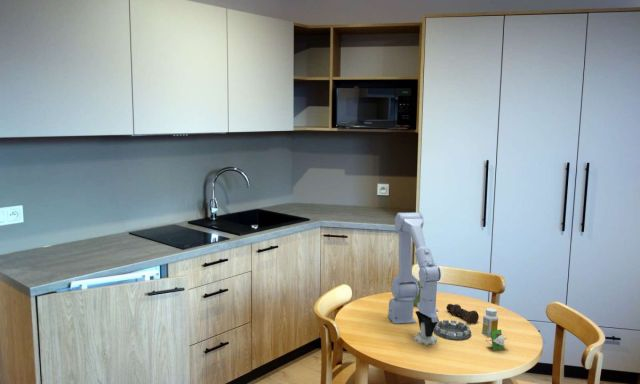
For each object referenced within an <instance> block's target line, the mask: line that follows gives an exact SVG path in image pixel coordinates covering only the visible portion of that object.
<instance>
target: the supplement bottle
mask: <svg viewBox="0 0 640 384" xmlns="http://www.w3.org/2000/svg"><path fill="white" fill-rule="evenodd" d="M497 313H498V310H497V309H496V308H495V307H486V308H485V313H484V314H483V320H482V330H481V331H482V334H483V335H485V336H486V337H491V331H493V330H498V325H499V316H498V315H497ZM489 333H490V334H489ZM488 335H490V336H488Z"/></svg>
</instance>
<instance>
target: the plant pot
mask: <svg viewBox="0 0 640 384" xmlns="http://www.w3.org/2000/svg"><path fill="white" fill-rule="evenodd" d="M418 287H419V294H418V296H417V297H415V300H414V303H413V306H415V307H417V303H420V292H421V285H420V281H418Z"/></svg>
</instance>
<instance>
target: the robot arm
mask: <svg viewBox="0 0 640 384" xmlns="http://www.w3.org/2000/svg"><path fill="white" fill-rule="evenodd" d="M424 219H425V218H424V215H423V214H422V212H420V211H417V212H397V214H396V215H395V218H394V231H395V234H396V233H397V234H398V274H397V275H396V276H395V277H394V278H393V279H392V285H391V289H390V290H391V295H392V297H393V298H390V299H389V300H388V315H387V317H388V319H389V320H390V321H391V322H392V323H393V324H411V323H413V324H414V323H417V321H416V319H415V318H414V305H413V303H414V300H415V297H417V296H418V294H419V287H418V282H420V285H421V292H420V303H417V306H416V308H417V309H418V310H416V311H415V314H416V318H417V319H418V324H419V325H418V326H419V331H421V323H422V322H424V325H425V335H426V337H431V336H432V334H433V335H434V328H435V326H436V324H437V323H438V322H439V321H440V320H439V316H438V314H437V312H439V309H438V308H436V307H437V304H436V303H437V291H438V282H439V281H440V280H441V277H442V273H441V268H440V266H439V265H438V264H437V263H436V262H435V261H434V257H433V255H432V252H431V249H430V248H429V247H427V245H426V241H425V236H424V233H423V227H424V224H425V223H424V222H425V221H424ZM412 241H413V244H414V246H415V250H416V251H415V253H414V255H415V258H416V261H417V265H418V268H419V270H418V278H419V281H418V278H417V277H415V275H413V274H412V273H413V272H412V271H413V268H412Z"/></svg>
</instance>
